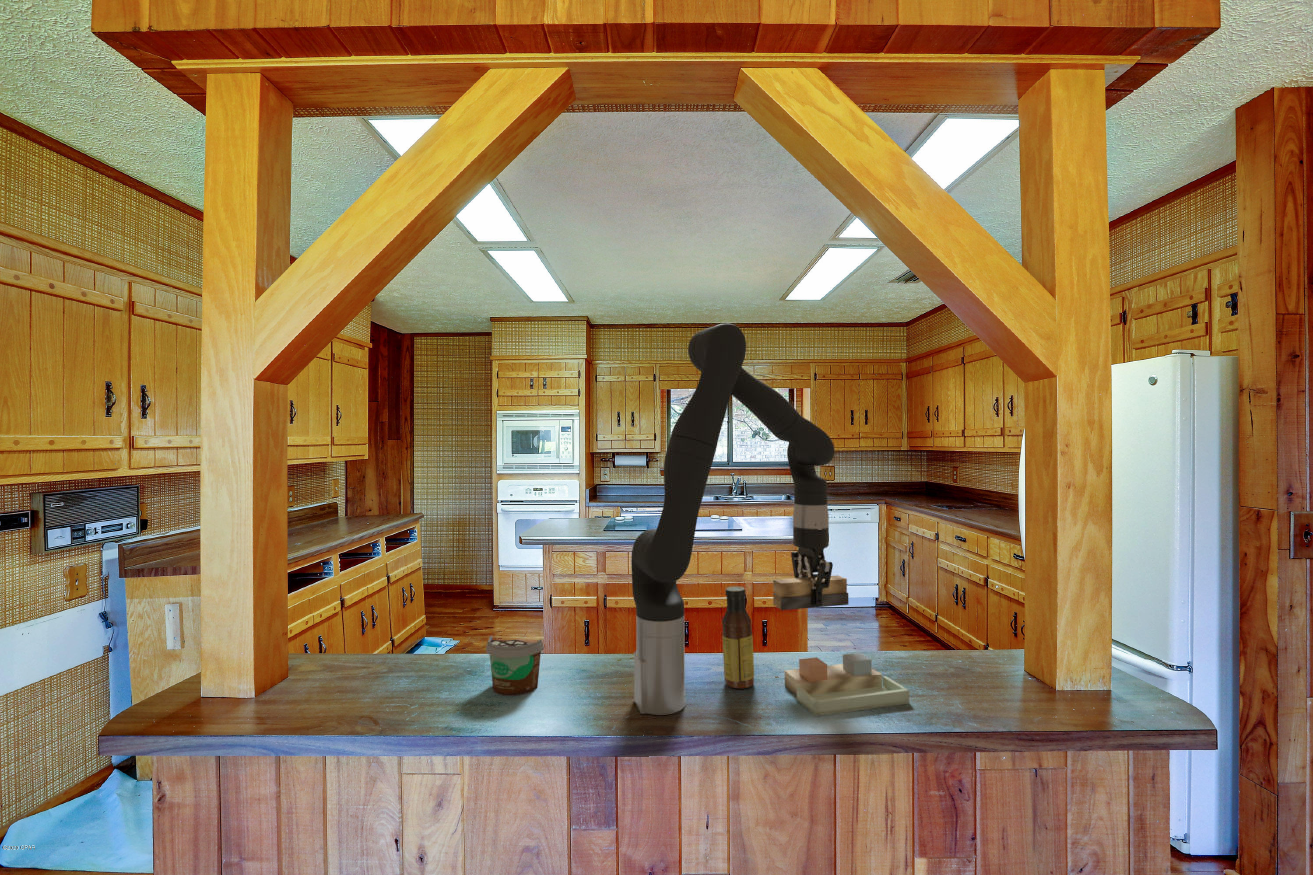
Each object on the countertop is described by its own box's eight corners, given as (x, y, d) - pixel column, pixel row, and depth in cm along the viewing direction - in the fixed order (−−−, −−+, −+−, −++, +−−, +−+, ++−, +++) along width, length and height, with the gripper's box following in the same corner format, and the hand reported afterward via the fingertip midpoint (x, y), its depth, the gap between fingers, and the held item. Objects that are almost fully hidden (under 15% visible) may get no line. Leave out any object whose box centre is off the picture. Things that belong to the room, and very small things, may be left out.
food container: (474, 694, 116) (473, 644, 117) (490, 682, 122) (489, 634, 123) (530, 700, 114) (530, 649, 114) (544, 688, 120) (544, 639, 120)
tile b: (854, 676, 117) (854, 661, 117) (843, 668, 121) (842, 654, 121) (871, 674, 118) (871, 659, 118) (859, 666, 122) (859, 652, 122)
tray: (815, 716, 106) (815, 702, 106) (796, 699, 113) (796, 687, 113) (909, 703, 111) (909, 690, 111) (886, 688, 118) (886, 676, 118)
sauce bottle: (753, 678, 124) (752, 584, 124) (755, 690, 117) (754, 592, 118) (722, 677, 124) (721, 584, 124) (722, 689, 118) (722, 591, 118)
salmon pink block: (809, 681, 114) (809, 666, 114) (799, 673, 118) (799, 659, 118) (827, 679, 115) (827, 664, 115) (816, 671, 119) (816, 657, 119)
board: (801, 699, 113) (801, 683, 113) (784, 684, 120) (784, 670, 120) (881, 688, 118) (881, 674, 118) (861, 675, 125) (861, 661, 125)
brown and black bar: (782, 610, 123) (782, 583, 123) (773, 604, 127) (773, 579, 127) (848, 604, 127) (848, 579, 127) (837, 599, 131) (837, 575, 131)
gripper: (779, 521, 133) (780, 596, 133) (812, 529, 119) (812, 613, 119) (809, 520, 135) (809, 594, 135) (844, 528, 121) (845, 611, 121)
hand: (811, 602), depth 127 cm, fingers closed on brown and black bar, 4 cm apart
